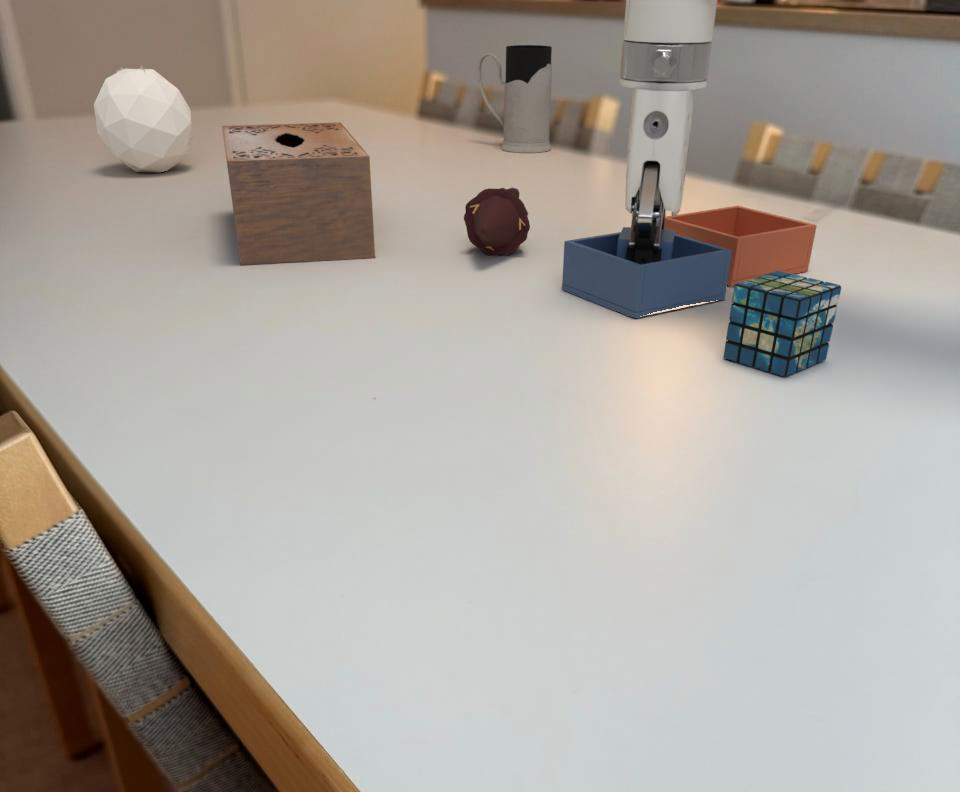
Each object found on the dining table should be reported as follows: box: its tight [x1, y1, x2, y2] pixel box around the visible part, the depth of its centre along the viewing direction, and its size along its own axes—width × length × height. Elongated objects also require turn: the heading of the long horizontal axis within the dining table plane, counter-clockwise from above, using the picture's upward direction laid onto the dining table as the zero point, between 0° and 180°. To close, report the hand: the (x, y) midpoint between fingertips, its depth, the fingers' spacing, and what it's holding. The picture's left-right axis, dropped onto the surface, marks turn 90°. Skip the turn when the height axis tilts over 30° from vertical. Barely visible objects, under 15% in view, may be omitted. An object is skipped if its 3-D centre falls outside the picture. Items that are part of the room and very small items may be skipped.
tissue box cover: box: [221, 122, 376, 266], centre depth 111 cm, size 26×14×10 cm, turn 13°
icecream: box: [463, 187, 531, 257], centre depth 104 cm, size 7×7×15 cm
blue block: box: [617, 226, 675, 261], centre depth 92 cm, size 5×5×5 cm
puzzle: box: [723, 271, 842, 378], centre depth 77 cm, size 6×6×6 cm
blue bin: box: [561, 231, 732, 319], centre depth 92 cm, size 11×11×5 cm
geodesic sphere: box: [93, 63, 193, 173], centre depth 143 cm, size 15×14×14 cm
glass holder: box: [477, 44, 553, 154], centre depth 162 cm, size 9×14×15 cm, turn 57°
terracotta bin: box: [664, 205, 818, 288], centre depth 101 cm, size 11×11×5 cm
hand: (642, 282), depth 93 cm, fingers closed on blue block, 5 cm apart
